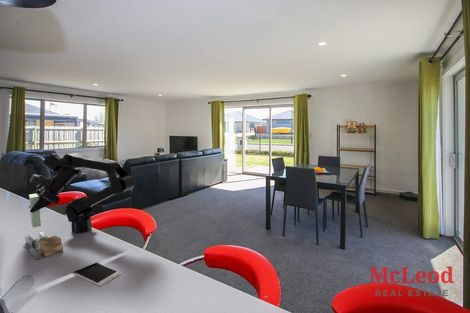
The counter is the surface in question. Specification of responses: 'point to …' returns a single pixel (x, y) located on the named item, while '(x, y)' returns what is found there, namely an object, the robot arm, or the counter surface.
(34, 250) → the rack
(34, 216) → the pale green block
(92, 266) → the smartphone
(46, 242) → the block
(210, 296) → the counter surface
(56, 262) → the counter surface
